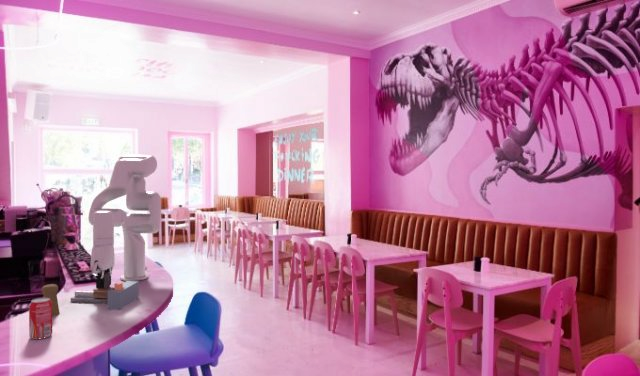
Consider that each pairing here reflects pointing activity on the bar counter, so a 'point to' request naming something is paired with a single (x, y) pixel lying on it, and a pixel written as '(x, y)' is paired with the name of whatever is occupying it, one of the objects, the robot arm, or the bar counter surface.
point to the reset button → (118, 286)
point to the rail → (87, 297)
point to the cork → (51, 297)
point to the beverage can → (40, 318)
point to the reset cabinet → (123, 295)
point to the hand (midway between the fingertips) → (103, 285)
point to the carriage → (103, 291)
